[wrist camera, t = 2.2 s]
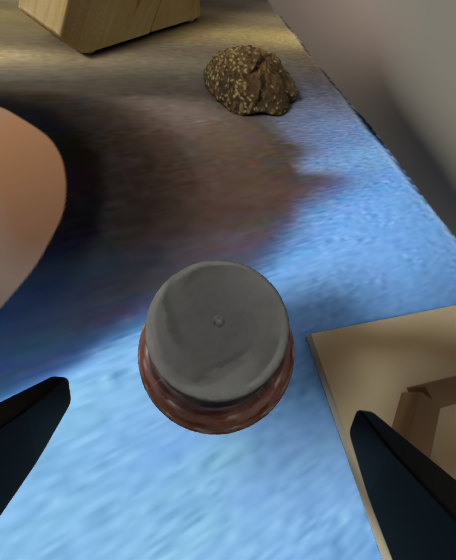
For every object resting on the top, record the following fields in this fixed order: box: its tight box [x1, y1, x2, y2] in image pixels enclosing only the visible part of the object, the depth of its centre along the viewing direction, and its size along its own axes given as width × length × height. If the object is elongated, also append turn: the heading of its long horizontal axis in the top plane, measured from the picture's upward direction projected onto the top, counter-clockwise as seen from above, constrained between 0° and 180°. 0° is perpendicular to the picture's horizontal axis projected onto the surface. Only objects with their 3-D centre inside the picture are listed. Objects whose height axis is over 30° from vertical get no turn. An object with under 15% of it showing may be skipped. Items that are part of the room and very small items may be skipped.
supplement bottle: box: [138, 260, 294, 435], centre depth 11 cm, size 6×6×11 cm
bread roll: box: [204, 45, 298, 116], centre depth 31 cm, size 13×12×5 cm
